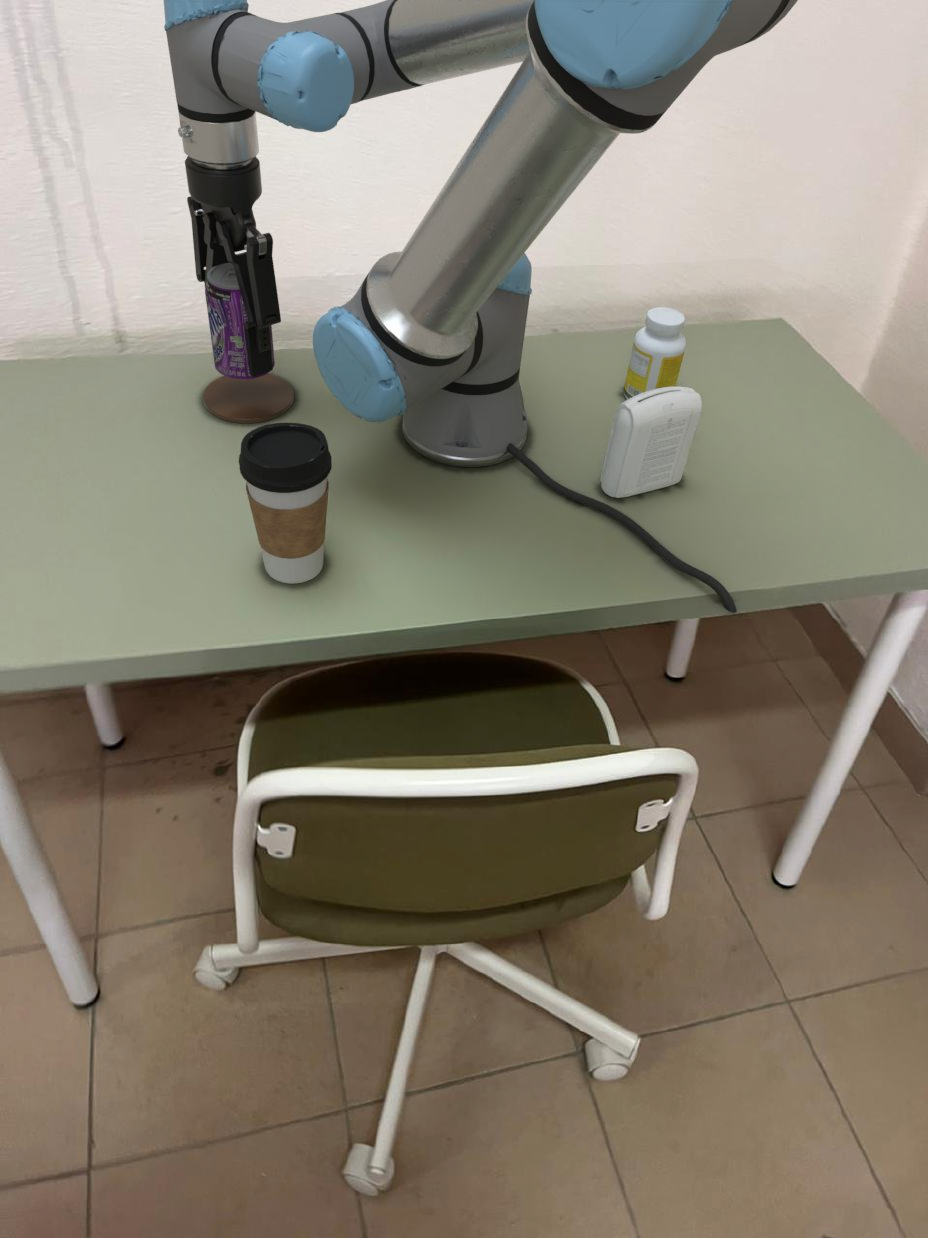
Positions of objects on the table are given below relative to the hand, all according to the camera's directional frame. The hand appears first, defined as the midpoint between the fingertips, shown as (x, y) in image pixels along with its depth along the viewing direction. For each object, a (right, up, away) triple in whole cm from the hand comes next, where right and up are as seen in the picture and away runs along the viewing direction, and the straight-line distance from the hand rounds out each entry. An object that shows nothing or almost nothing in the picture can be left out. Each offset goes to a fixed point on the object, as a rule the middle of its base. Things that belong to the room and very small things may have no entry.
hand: (244, 357), depth 110 cm
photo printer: (+47, -16, -3) cm, 50 cm away
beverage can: (0, -1, +1) cm, 2 cm away
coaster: (0, -4, +4) cm, 6 cm away
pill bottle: (+51, -2, +11) cm, 52 cm away
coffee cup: (+9, -26, -17) cm, 32 cm away
